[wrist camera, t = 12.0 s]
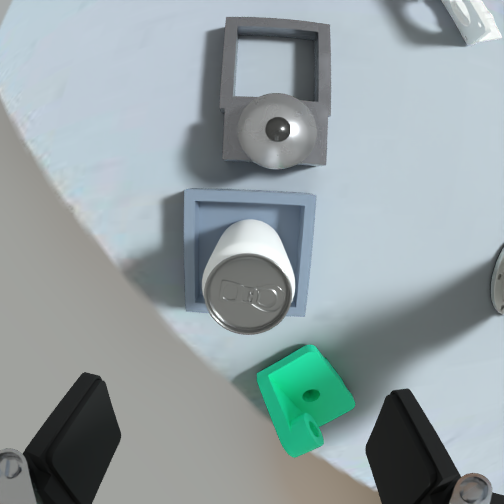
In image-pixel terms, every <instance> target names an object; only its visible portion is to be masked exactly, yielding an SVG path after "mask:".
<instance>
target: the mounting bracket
mask: <svg viewBox="0 0 504 504" xmlns="http://www.w3.org/2000/svg"><path fill="white" fill-rule="evenodd" d="M441 1H442V3H443V4H444V6H445V7H446V9H447V11H448V12H449V14H450V16H451V17H452V19H453V21H454V22H455V24H456V26H457V28H458V29H459V31H460V33H461V35H462V37H463V39H464V41H465V42H466V44H467V45H468V46H472V45H475V44H476V43H479V42H485V41H491V40H498V39H501V38H502V35H501V33H500V32H499V30H498V28H497V26H496V24H495V21H494V17H493V15H492V14H491V13H490V12H489V11H488V10H487V8H486V7H485V5H484V3H483V2H482V0H441Z"/></svg>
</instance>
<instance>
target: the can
mask: <svg viewBox="0 0 504 504" xmlns="http://www.w3.org/2000/svg"><path fill="white" fill-rule="evenodd" d="M202 292H203V296H204V299H205V304H206V307H207V309H208V311H209V313H210V315H211V316H212V318H213V319H214V320H215V321H216V322H217V323H218V324H219V325H221V326H222V327H223V328H225V329H227V330H229V331H231V332H234V333H238V334H244V335H253V334H259V333H263V332H266V331H268V330H270V329H272V328H273V327H275V326H276V325H278V324H279V323H280V322H281V321H282V320H283V319H284V317H285V316H286V314H287V313H288V311H289V308H290V306H291V303H292V300H293V297H294V293H295V277H294V273H293V270H292V267H291V264H290V261H289V259H288V256H287V254H286V251H285V249H284V246H283V244H282V242H281V239H280V237H279V236H278V234H277V232H276V231H275V230H274V229H273V228H272V227H271V226H269V225H268V224H266V223H264V222H262V221H259V220H254V219H246V220H241V221H238V222H236V223H234V224H232V225H231V226H230V227H228V228H227V229H226V230H225V232H224V233H223V234H222V236H221V238H220V239H219V241H218V243H217V245H216V247H215V249H214V251H213V253H212V255H211V257H210V259H209V261H208V263H207V265H206V268H205V270H204V273H203V278H202Z"/></svg>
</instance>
